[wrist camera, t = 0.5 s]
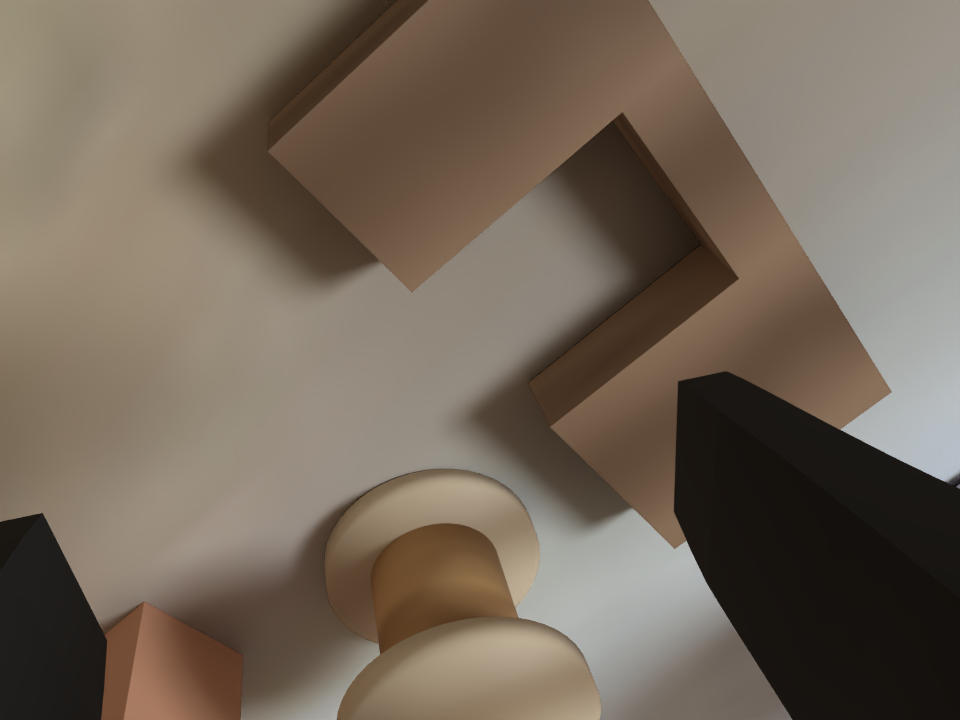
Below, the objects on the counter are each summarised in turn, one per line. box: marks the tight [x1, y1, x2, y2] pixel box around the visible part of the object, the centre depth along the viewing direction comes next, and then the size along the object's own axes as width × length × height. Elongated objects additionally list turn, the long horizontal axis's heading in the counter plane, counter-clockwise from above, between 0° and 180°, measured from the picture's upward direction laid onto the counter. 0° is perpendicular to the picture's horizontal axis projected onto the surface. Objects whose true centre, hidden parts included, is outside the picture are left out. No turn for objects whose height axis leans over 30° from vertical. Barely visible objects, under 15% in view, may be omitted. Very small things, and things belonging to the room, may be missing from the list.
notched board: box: [268, 0, 891, 549], centre depth 19 cm, size 15×7×2 cm, turn 39°
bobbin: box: [324, 469, 601, 720], centre depth 21 cm, size 6×6×6 cm
